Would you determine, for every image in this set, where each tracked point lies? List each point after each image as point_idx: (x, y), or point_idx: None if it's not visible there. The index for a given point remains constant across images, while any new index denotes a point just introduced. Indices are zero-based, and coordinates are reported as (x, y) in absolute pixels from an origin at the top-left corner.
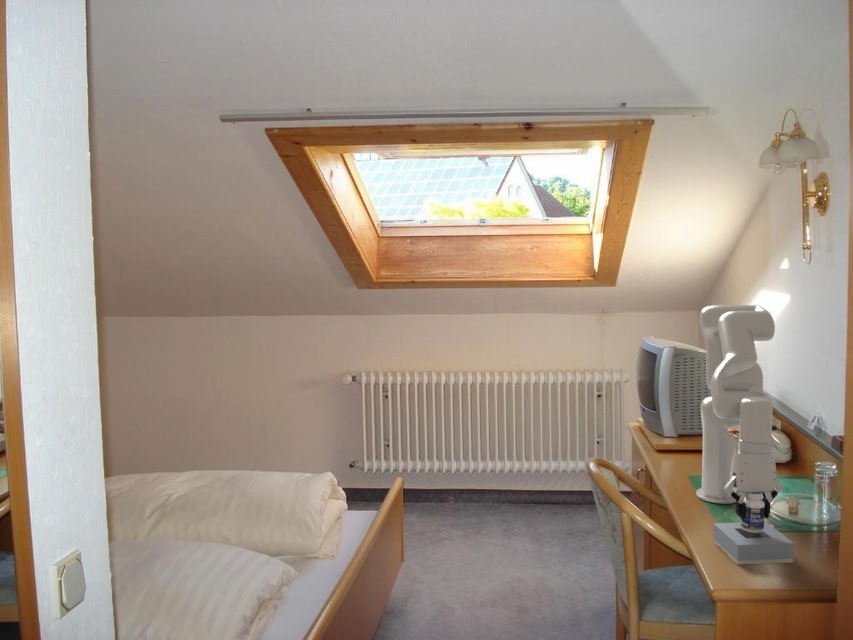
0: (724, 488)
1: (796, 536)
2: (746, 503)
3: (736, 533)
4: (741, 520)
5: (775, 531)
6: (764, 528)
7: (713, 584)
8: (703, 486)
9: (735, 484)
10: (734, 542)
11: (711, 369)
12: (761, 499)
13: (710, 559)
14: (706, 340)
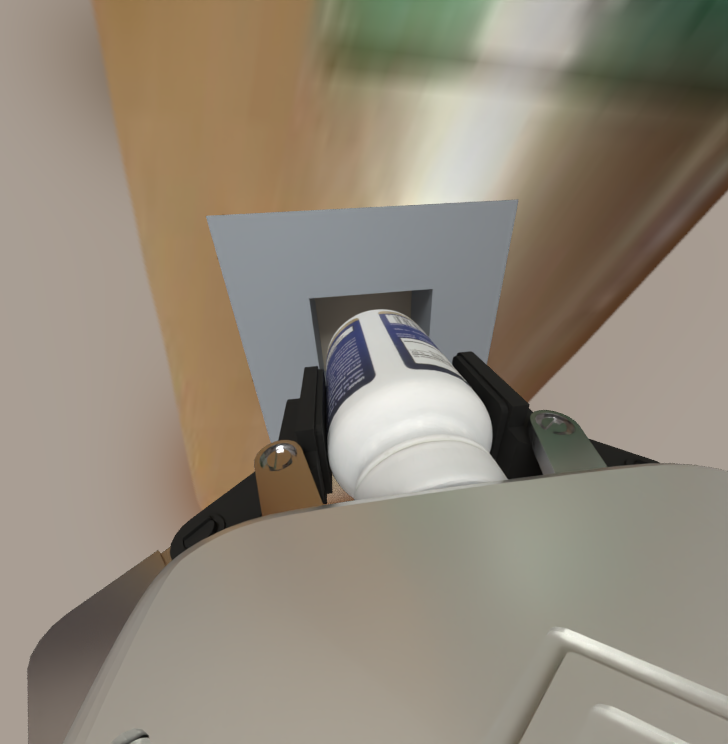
0: (55, 662)
1: (621, 164)
2: (344, 489)
3: (301, 356)
4: (326, 374)
5: (480, 334)
6: (455, 299)
7: (197, 500)
8: None
9: (251, 553)
10: (268, 432)
11: None
12: (509, 410)
13: (205, 379)
14: None
